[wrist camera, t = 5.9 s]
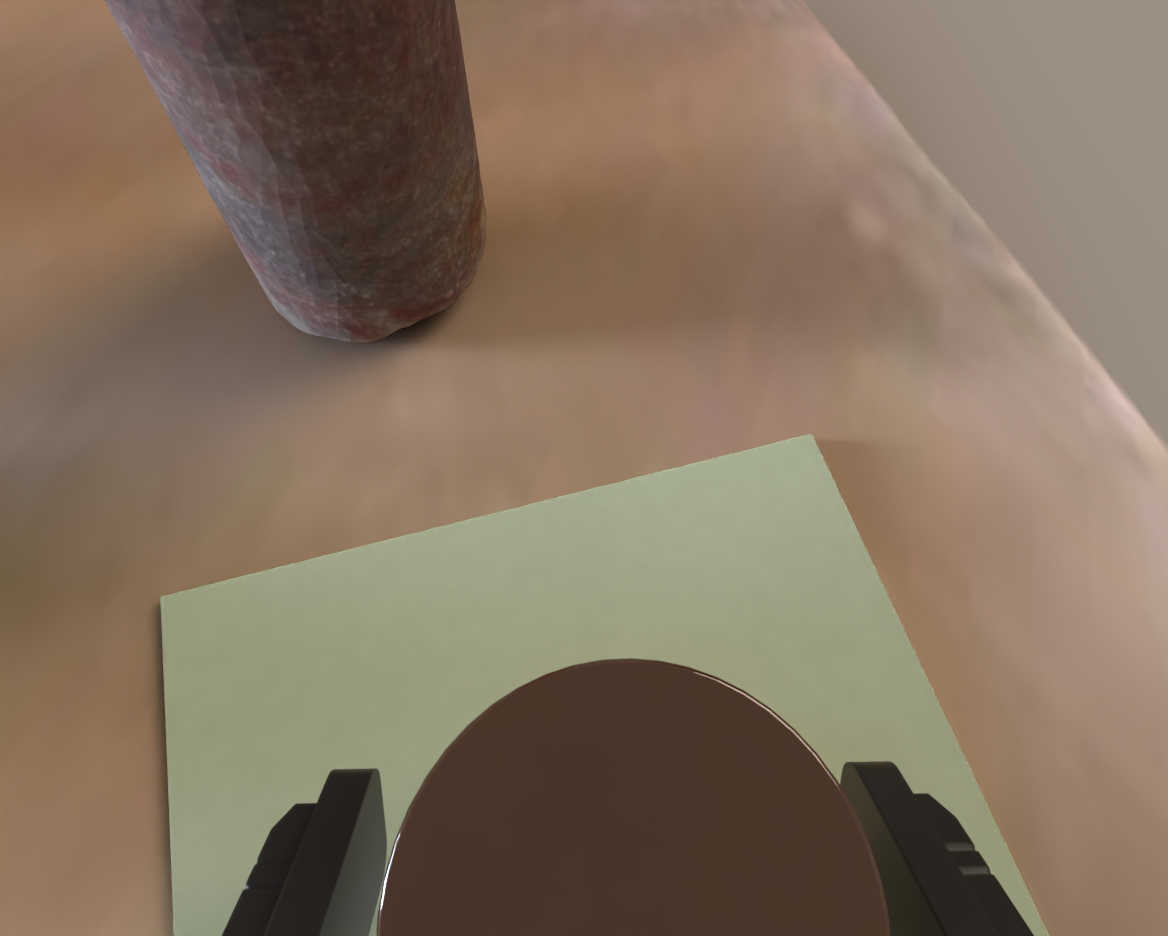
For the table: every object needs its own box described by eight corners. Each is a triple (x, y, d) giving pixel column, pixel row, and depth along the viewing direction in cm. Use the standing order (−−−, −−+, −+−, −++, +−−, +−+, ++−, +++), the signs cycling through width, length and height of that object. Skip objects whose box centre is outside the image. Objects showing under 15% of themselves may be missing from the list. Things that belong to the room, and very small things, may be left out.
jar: (737, 1077, 15) (909, 1327, 7) (428, 1025, 15) (304, 1219, 8) (751, 743, 17) (885, 688, 10) (489, 703, 18) (441, 622, 10)
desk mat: (809, 437, 21) (812, 432, 21) (1186, 1240, 14) (1197, 1249, 14) (165, 599, 19) (159, 595, 18) (213, 1688, 11) (204, 1710, 11)
